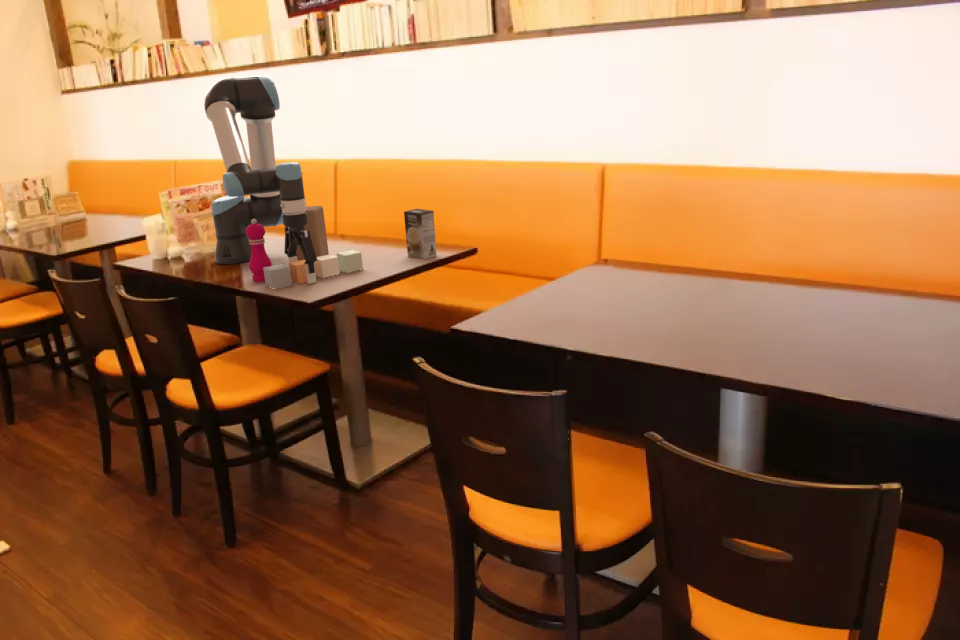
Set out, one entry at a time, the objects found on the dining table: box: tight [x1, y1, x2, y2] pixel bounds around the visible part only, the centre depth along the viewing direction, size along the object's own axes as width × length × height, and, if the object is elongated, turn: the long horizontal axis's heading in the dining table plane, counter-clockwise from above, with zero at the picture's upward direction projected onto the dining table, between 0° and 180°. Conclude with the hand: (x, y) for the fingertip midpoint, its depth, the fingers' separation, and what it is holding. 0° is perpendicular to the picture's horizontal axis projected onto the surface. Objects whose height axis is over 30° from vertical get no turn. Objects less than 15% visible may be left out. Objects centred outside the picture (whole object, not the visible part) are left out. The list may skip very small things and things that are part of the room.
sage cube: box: [336, 249, 364, 274], centre depth 255 cm, size 6×6×6 cm
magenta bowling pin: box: [246, 219, 273, 283], centre depth 248 cm, size 7×7×20 cm
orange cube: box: [288, 260, 308, 284], centre depth 246 cm, size 6×6×6 cm
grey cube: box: [263, 263, 292, 290], centre depth 241 cm, size 6×6×6 cm
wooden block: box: [296, 205, 330, 261], centre depth 263 cm, size 10×10×20 cm
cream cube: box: [314, 254, 341, 279], centre depth 251 cm, size 6×6×6 cm
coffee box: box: [403, 208, 437, 260], centre depth 267 cm, size 9×6×16 cm
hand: (303, 279), depth 247 cm, fingers open, 12 cm apart
